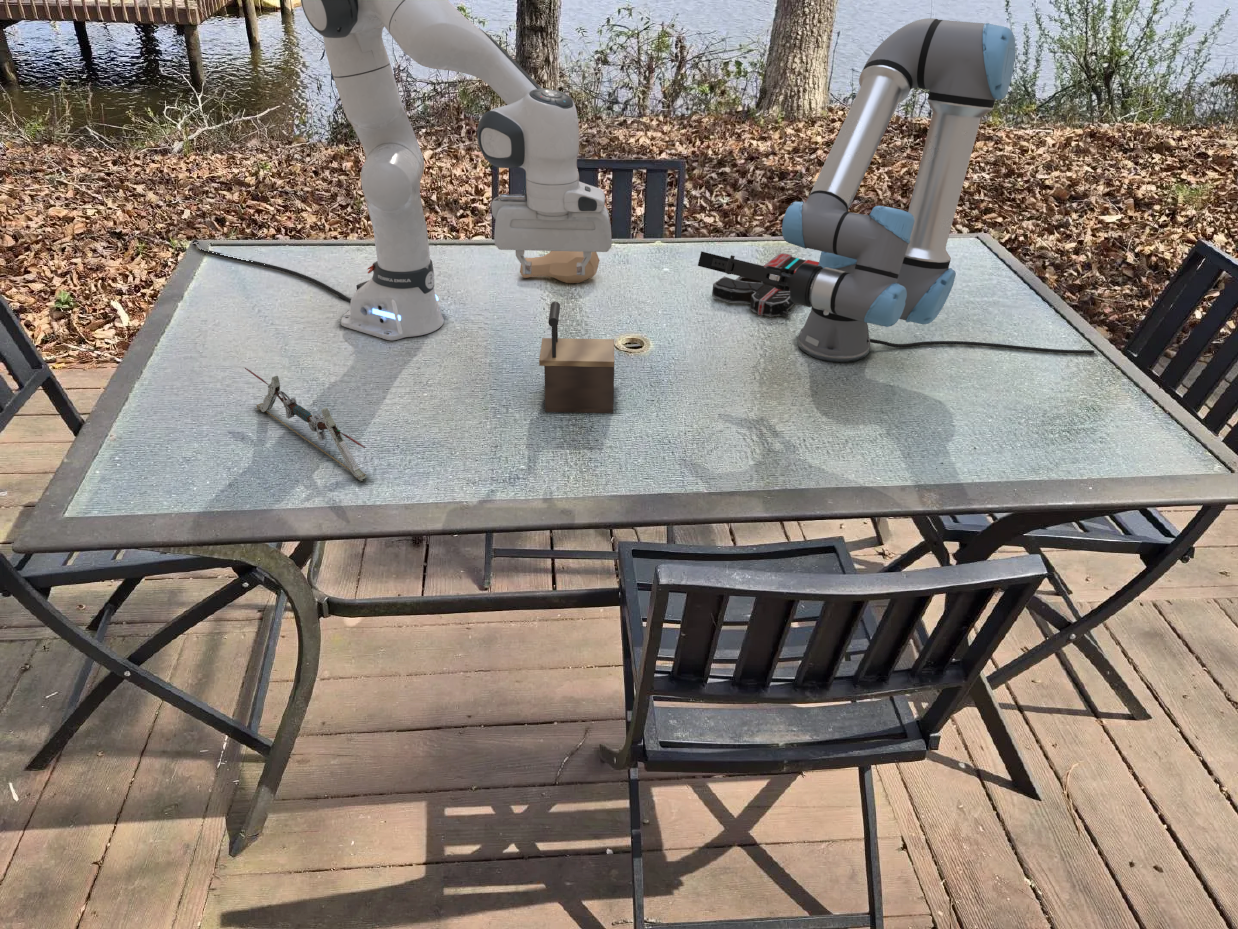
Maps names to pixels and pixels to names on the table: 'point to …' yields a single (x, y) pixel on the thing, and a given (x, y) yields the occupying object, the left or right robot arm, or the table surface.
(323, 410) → the bow
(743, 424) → the table surface
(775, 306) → the gun
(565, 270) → the squash
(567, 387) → the chest
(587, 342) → the lid
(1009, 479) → the table surface
